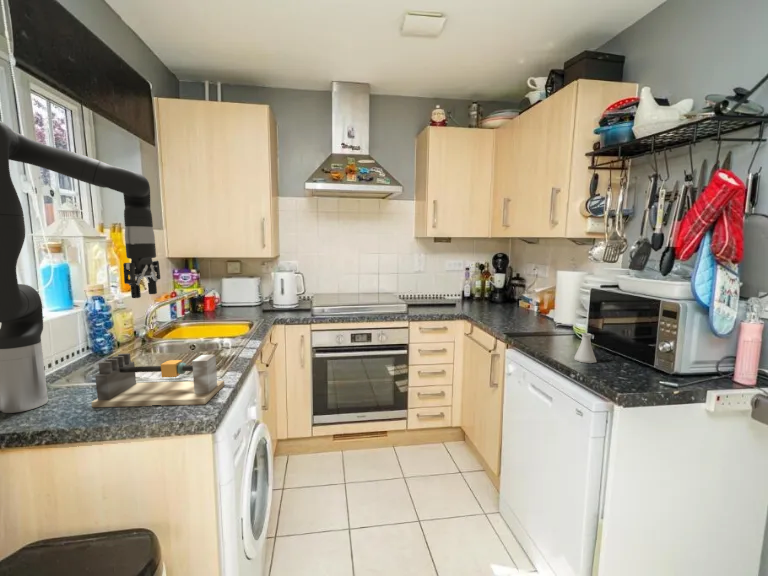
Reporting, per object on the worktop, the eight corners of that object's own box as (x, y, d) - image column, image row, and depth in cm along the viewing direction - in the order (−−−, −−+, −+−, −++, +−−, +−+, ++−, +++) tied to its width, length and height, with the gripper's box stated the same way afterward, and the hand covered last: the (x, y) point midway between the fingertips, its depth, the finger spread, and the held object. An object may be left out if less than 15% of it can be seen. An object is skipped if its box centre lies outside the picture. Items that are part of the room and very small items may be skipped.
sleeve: (161, 377, 106) (160, 364, 106) (168, 372, 110) (167, 360, 110) (176, 377, 106) (175, 364, 106) (182, 372, 110) (181, 360, 110)
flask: (600, 363, 134) (602, 336, 133) (580, 363, 134) (581, 336, 133) (589, 357, 141) (591, 331, 140) (570, 357, 141) (571, 331, 140)
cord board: (91, 407, 101) (87, 366, 100) (125, 387, 115) (121, 351, 114) (205, 404, 102) (202, 363, 101) (224, 385, 116) (222, 349, 115)
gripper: (141, 242, 119) (146, 293, 121) (111, 242, 105) (116, 299, 107) (165, 242, 120) (169, 292, 121) (138, 242, 105) (143, 299, 107)
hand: (144, 295), depth 114 cm, fingers open, 8 cm apart
